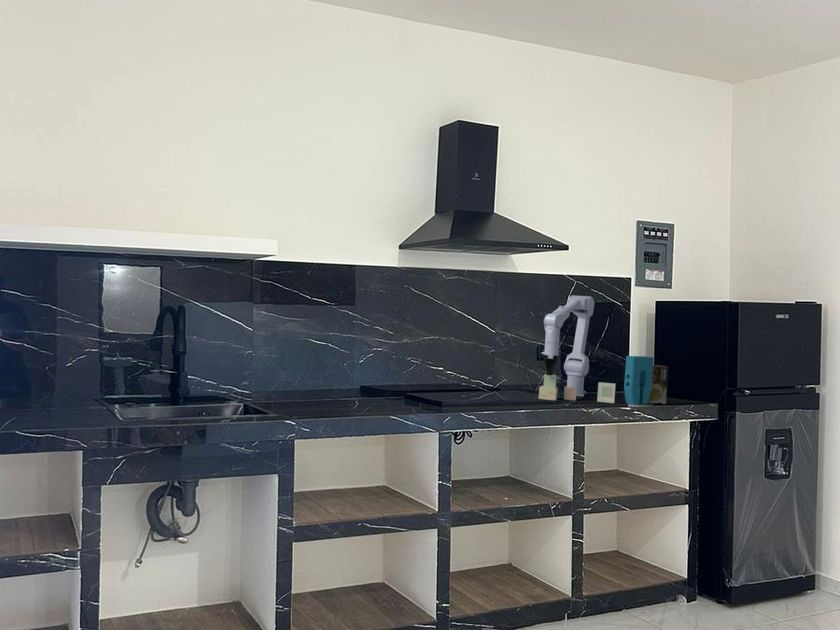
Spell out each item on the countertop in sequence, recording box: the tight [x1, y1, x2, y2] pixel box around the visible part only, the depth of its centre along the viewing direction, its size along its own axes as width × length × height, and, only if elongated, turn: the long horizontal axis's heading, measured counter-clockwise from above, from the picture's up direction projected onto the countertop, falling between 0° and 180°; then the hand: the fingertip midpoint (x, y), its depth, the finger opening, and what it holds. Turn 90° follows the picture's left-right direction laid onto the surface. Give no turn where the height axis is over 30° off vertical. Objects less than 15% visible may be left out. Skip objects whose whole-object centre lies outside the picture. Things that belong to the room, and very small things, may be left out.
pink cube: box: [563, 386, 577, 401], centre depth 371 cm, size 5×5×5 cm
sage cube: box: [542, 374, 557, 388], centre depth 368 cm, size 5×5×5 cm
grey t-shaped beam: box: [596, 381, 616, 404], centre depth 370 cm, size 4×7×8 cm, turn 80°
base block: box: [538, 385, 559, 401], centre depth 368 cm, size 7×7×5 cm
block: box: [623, 355, 655, 406], centre depth 370 cm, size 12×5×20 cm, turn 120°
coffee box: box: [648, 364, 669, 405], centre depth 379 cm, size 9×6×16 cm
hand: (549, 374), depth 368 cm, fingers open, 7 cm apart
